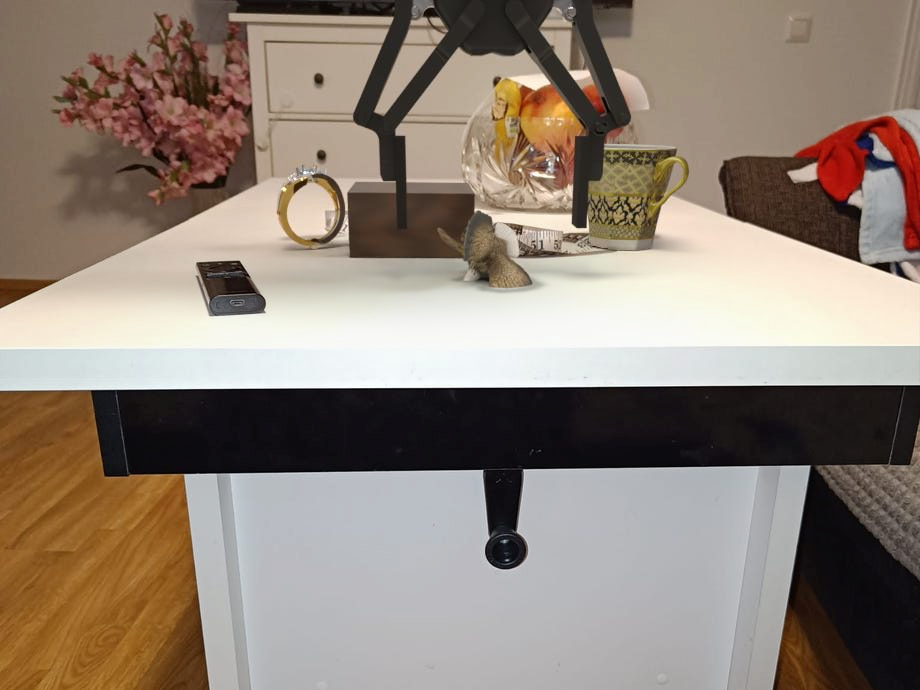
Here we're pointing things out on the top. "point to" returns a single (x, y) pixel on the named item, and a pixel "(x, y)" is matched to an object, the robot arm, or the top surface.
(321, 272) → the top surface
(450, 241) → the eagle figurine
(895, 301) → the top surface
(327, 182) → the ring
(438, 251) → the walnut block
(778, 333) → the top surface
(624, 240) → the ceramic cup
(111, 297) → the top surface
